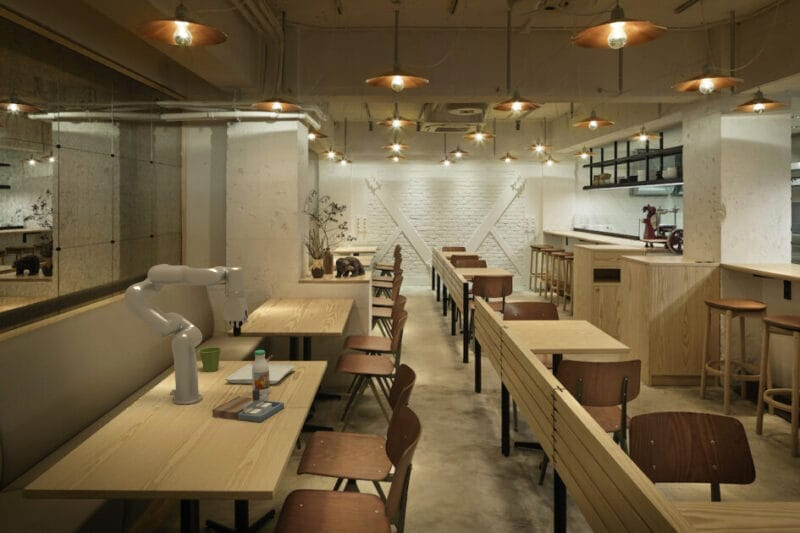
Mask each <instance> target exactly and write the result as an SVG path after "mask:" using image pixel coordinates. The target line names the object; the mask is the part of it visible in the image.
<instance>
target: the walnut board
mask: <svg viewBox="0 0 800 533" xmlns="http://www.w3.org/2000/svg"><path fill="white" fill-rule="evenodd" d="M251 401H253V397H248V396H236V397H234V398H232V399H230V400H228V401H226V402H223V404H221V405H218V406H217V407H215V408H213V409H211V412H212V413H211V414H212V418H220V419H226V420H227V419H229V420H235V419H236V420H237V421H239V420H238V413H240V412H242V411H244V406H243V405H245V404H247V403H249V402H251Z"/></svg>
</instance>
